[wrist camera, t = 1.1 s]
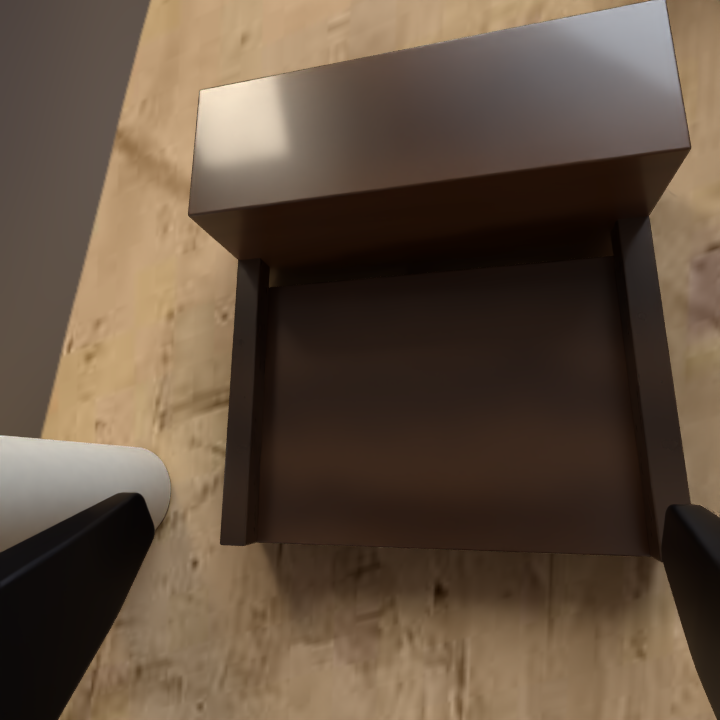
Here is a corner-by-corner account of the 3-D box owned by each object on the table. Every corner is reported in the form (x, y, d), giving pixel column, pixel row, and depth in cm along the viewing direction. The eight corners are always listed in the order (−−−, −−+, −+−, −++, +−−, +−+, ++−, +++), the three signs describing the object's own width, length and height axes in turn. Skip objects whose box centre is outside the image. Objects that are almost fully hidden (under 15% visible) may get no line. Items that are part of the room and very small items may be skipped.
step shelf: (663, 549, 20) (769, 591, 13) (256, 535, 24) (154, 561, 17) (610, 143, 25) (666, -4, 17) (273, 191, 29) (198, 89, 21)
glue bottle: (177, 531, 25) (-181, 594, 12) (94, 552, 26) (-331, 635, 13) (165, 436, 27) (-168, 394, 13) (86, 459, 28) (-303, 443, 14)
